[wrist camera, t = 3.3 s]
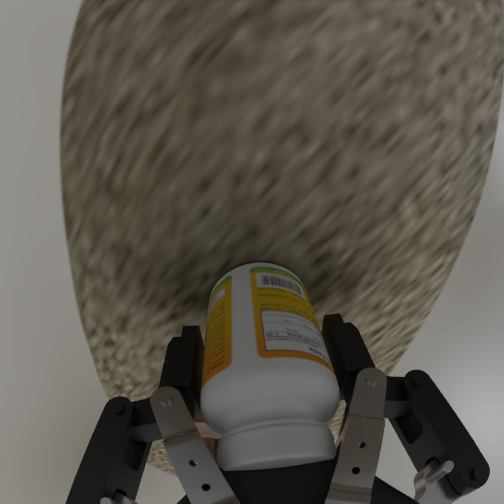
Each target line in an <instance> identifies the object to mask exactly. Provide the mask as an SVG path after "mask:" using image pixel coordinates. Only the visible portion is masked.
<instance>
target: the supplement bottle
mask: <svg viewBox="0 0 504 504" xmlns="http://www.w3.org/2000/svg"><path fill="white" fill-rule="evenodd" d="M339 402H340V391H339V386H338V383H337V379H336V375H335V373H334V369H333V367H332V364H331V361H330V358H329V355H328V352H327V349H326V346H325V343H324V340H323V337H322V334H321V331H320V329H319V326H318V323H317V320H316V317H315V314H314V311H313V308H312V306H311V303H310V300H309V297H308V294H307V292H306V289H305V287H304V285H303V283H302V282H301V281H300V279H299V278H298V277H297V276H296V275H295V274H294V273H292V272H291V271H289V270H288V269H286V268H284V267H282V266H279V265H275V264H271V263H250V264H246V265H242V266H240V267H237V268H235V269H233V270H231V271H230V272H228V273H227V274H225V275H224V276H223V277H222V278H221V279H220V280H219V281H218V282H217V283H216V285H215V286H214V288H213V290H212V292H211V295H210V299H209V305H208V314H207V326H206V336H205V347H204V358H203V369H202V381H201V396H200V408H201V413H202V417H203V419H204V421H205V422H206V424H207V425H208V426H209V428H210V429H212V430H213V431H214V432H215V433H217V434H218V435H220V436H222V437H221V438H220V439H219V441H218V448H217V464H218V467H221V468H222V469H223V470H224V471H240V470H258V469H270V468H279V467H287V466H295V465H301V464H308V463H314V462H319V461H325V460H330V459H333V458H334V457H335V455H336V454H337V453H336V448H335V443H334V437H333V434H332V433H331V430H330V428H329V427H328V426H327V425H326V424H327V423H328V422H329V421H330V420H331V419H332V417H333V416H334V415H335V413H336V411H337V409H338V406H339Z"/></svg>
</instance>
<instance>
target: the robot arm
mask: <svg viewBox="0 0 504 504" xmlns="http://www.w3.org/2000/svg"><path fill="white" fill-rule="evenodd" d="M321 334H322V337H323V340H324V343H325V346H326V349H327V352H328V355H329V358H330V361H331V364H332V367H333V369H334V373H335V375H336V379H337V383H338V386H339V391H340V400H344V399H345V402H346V408H345V411H344V415H343V419H342V423H341V427H340V430H339V434H338V438H337V441H336V444H335V448H336V453H337V454H336V455H335V457H334V458H333V459H330V460H325V461H319V462H314V463H308V464H301V465H295V466H287V467H279V468H270V469H258V470H240V471H224V470H223V469H222V468H221V467H218V466H217V464H216V463H215V461H214V459H213V457H212V455H211V454H210V452H209V450H208V448H207V446H206V444H205V443H204V441H203V439H202V437H201V435H200V433H199V431H198V429H197V427H196V425H195V423H194V417H195V413H201V408H200V396H201V381H202V369H203V358H204V344H203V340H202V336H201V331H200V327H199V326H183V329H182V334H181V337H173V338H172V340H171V341H170V342H169V344H168V346H167V351H166V356H165V362H164V365H163V370H162V375H161V380H160V385H159V388H158V389H157V390H155V391H154V392H153V393H152V395H151V397H149V398H147V399H143V400H139V401H134V402H131V401H130V400H129V399H128V398H126V397H114V398H112V399H111V400H109V401H108V402H107V404H106V405H105V407H104V410H103V412H102V414H101V416H100V419H99V421H98V423H97V425H96V428H95V430H94V432H93V434H92V437H91V439H90V442H89V444H88V447H87V449H86V451H85V454H84V456H83V459H82V461H81V464H80V466H79V469H78V471H77V474H76V476H75V479H74V482H73V484H72V487H71V490H70V493H69V495H68V498H67V501H66V504H138V503H136V502H135V499H136V495H137V492H138V488H139V485H140V481H141V478H142V475H143V471H144V468H145V464H146V461H147V458H148V455H149V451H150V448H151V445H152V442H153V441H156V440H160V439H164V441H163V443H164V447H165V449H166V452H167V454H168V456H169V458H170V461H171V463H172V465H173V467H174V470H175V472H176V474H177V476H178V478H179V480H180V482H181V484H182V486H183V488H184V490H185V492H186V495H185V496H184V497H183V498H182V499H181V500H180V501H179V502H178V503H177V504H451V503H452V502H454V501H455V500H457V499H459V498H461V497H463V496H465V495H467V494H469V493H471V492H472V491H474V490H476V489H478V488H480V487H481V486H483V485H484V484H485V483H486V481H487V480H488V477H489V474H490V468H489V465H488V463H487V462H486V460H485V458H484V457H483V455H482V453H481V452H480V450H479V449H478V447H477V445H476V444H475V442H474V440H473V439H472V437H471V436H470V434H469V433H468V431H467V430H466V428H465V427H464V425H463V424H462V422H461V421H460V419H459V418H458V416H457V415H456V413H455V412H454V410H453V409H452V407H451V406H450V404H449V403H448V402H447V400H446V399H445V397H444V396H443V395H442V393H441V392H440V390H439V389H438V388H437V386H436V385H435V383H434V382H433V381H432V379H431V378H430V377H429V375H428V374H427V373H425V372H424V371H421V370H412V371H409V372H408V373H407V374H406V376H405V377H391V376H386V375H385V374H384V373H383V372H382V371H381V370H379V369H377V368H376V367H375V365H374V363H373V361H372V359H371V357H370V354H369V352H368V350H367V348H366V346H365V344H364V341H363V339H362V338H361V335H360V333H359V331H358V329H357V328H356V327H355V326H354V325H353V324H352V323H351V322H348V323H344V322H343V319H342V317H341V315H340V314H339V313H338V314H330V315H324V318H323V326H322V333H321ZM383 418H388V419H389V421H390V422H391V424H392V426H393V428H394V430H395V432H396V433H397V435H398V437H399V439H400V440H401V442H402V444H403V446H404V448H405V449H406V451H407V453H408V455H409V457H410V459H411V461H412V463H413V464H414V466H415V468H416V470H417V472H418V473H417V474H416V476H415V478H414V487H415V492H416V493H415V498H414V499H412V498H411V497H409V496H407V495H405V494H404V493H402V492H400V491H399V490H397V489H396V488H394V487H392V486H391V485H389V484H387V483H386V482H384V481H383V480H381V479H380V478H378V477H377V476H375V474H376V469H377V465H378V460H379V455H380V450H381V445H382V439H383V433H384V427H385V419H383Z"/></svg>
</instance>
